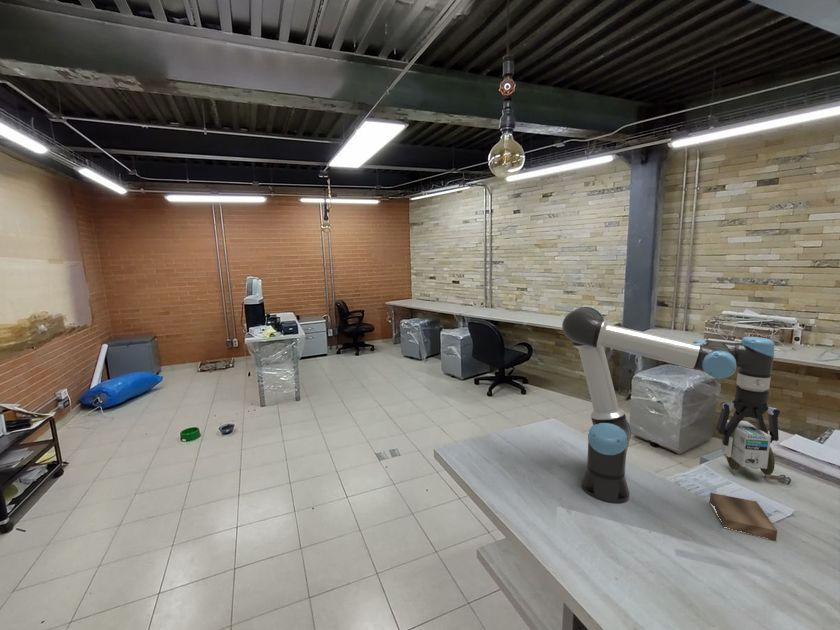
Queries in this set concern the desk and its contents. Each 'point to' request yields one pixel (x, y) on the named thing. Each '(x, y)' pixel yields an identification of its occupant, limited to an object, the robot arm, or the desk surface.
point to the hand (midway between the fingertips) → (743, 457)
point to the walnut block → (743, 516)
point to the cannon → (768, 471)
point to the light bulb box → (750, 445)
